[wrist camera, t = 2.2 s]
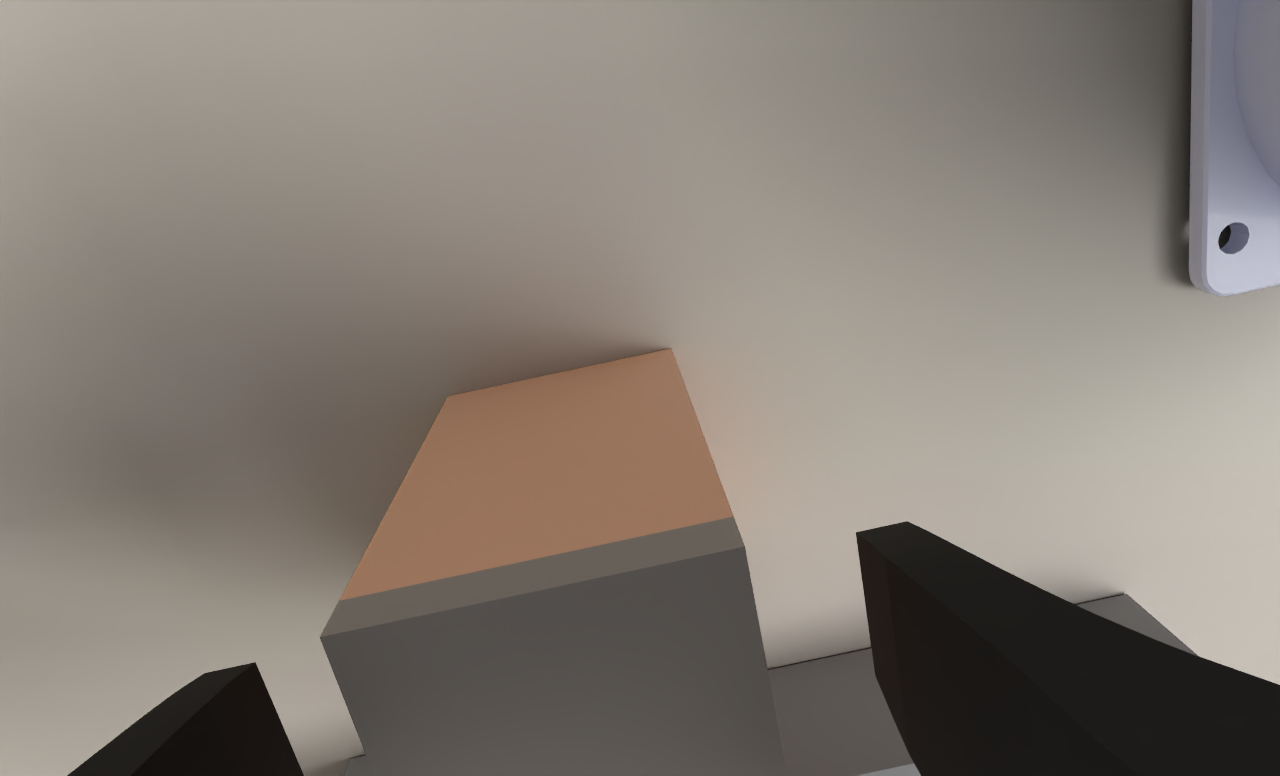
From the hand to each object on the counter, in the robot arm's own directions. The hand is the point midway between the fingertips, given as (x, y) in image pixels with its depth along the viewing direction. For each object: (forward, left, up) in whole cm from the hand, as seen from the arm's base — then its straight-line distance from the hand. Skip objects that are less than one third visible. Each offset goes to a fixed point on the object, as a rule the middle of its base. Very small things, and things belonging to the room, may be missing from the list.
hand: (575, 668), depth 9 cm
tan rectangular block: (0, 0, -6) cm, 6 cm away
